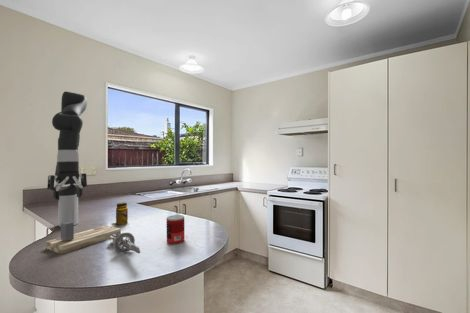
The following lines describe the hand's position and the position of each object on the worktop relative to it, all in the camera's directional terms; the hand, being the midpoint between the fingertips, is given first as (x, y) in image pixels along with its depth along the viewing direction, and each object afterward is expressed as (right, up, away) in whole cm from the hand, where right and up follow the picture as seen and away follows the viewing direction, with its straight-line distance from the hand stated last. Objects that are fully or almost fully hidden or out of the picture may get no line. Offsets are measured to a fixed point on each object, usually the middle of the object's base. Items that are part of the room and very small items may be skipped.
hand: (68, 198), depth 99 cm
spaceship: (+27, -21, -7) cm, 35 cm away
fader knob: (0, -19, -1) cm, 19 cm away
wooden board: (+4, -21, +7) cm, 22 cm away
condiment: (+5, -21, +34) cm, 40 cm away
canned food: (+45, -21, +5) cm, 50 cm away
